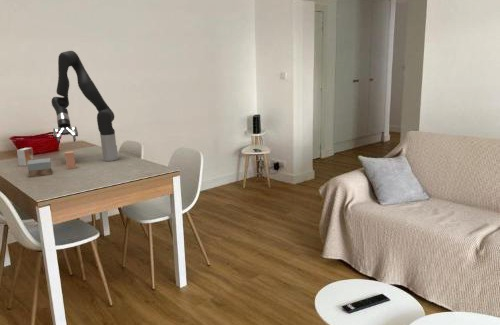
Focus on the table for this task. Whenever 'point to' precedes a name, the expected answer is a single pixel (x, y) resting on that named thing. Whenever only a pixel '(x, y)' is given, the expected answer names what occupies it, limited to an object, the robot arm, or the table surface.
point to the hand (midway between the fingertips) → (67, 141)
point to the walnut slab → (40, 172)
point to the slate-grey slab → (39, 164)
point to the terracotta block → (70, 160)
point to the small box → (25, 156)
